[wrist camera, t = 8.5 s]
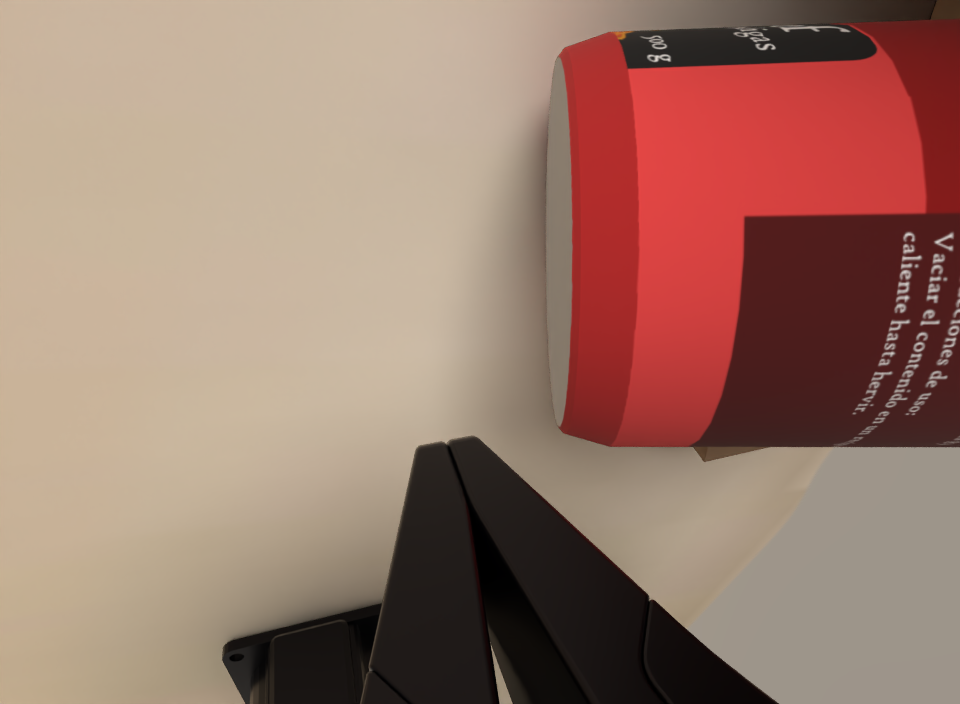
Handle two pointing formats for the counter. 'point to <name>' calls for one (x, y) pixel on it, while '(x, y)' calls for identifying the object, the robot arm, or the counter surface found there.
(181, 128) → the counter surface
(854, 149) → the canned food
